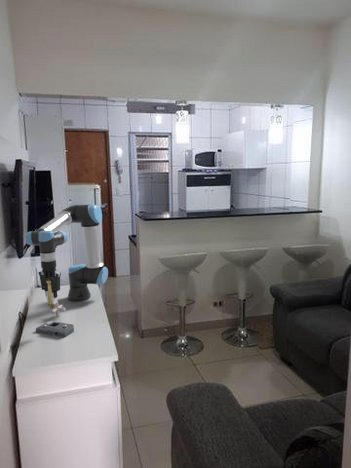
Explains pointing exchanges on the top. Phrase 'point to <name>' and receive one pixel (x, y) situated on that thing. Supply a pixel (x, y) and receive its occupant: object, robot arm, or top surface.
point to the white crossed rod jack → (57, 309)
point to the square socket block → (56, 329)
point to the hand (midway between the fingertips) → (52, 302)
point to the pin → (50, 294)
